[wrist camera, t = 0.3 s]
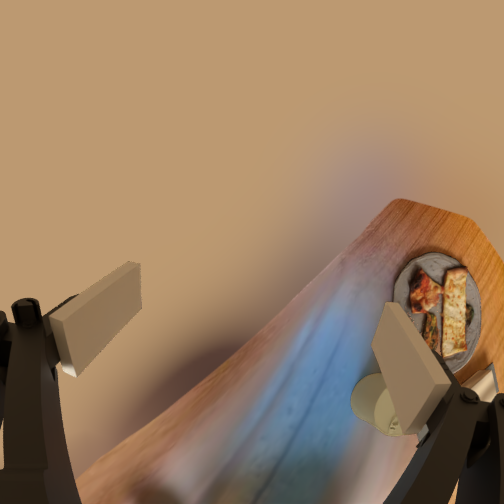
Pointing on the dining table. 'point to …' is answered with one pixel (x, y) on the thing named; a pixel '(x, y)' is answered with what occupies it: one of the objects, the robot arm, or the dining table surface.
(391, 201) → the dining table surface
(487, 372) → the beige wavy block
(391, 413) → the can
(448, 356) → the food plate
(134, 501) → the dining table surface
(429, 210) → the dining table surface
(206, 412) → the dining table surface
